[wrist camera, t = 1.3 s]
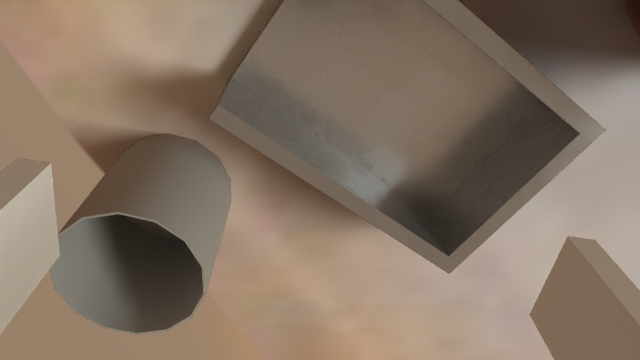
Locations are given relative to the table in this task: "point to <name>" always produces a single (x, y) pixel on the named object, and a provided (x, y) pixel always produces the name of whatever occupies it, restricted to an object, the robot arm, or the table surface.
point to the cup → (145, 237)
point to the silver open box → (405, 117)
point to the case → (634, 13)
